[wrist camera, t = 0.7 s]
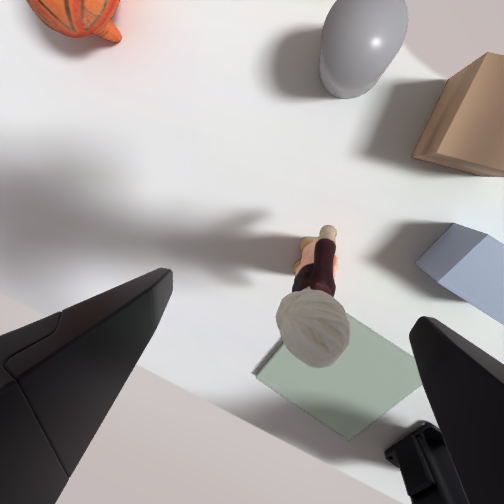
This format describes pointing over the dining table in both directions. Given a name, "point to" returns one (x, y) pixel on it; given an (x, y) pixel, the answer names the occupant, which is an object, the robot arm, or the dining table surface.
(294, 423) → the dining table surface
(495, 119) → the walnut block
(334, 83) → the grey capsule
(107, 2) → the pot
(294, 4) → the dining table surface
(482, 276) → the slate-blue block
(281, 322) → the grandmother figurine
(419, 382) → the sage mat
